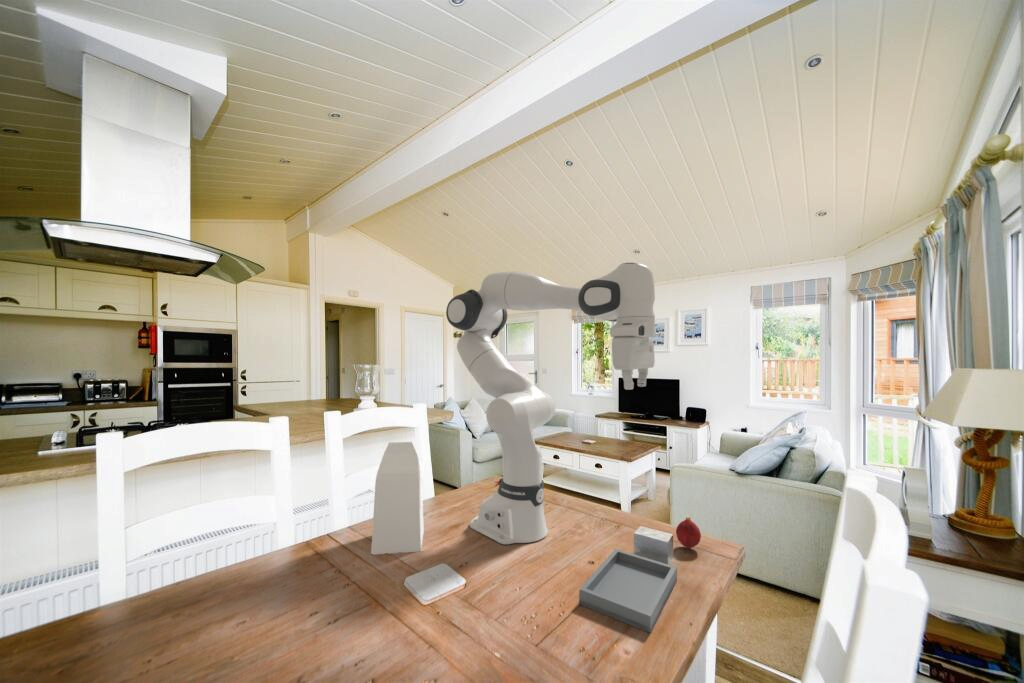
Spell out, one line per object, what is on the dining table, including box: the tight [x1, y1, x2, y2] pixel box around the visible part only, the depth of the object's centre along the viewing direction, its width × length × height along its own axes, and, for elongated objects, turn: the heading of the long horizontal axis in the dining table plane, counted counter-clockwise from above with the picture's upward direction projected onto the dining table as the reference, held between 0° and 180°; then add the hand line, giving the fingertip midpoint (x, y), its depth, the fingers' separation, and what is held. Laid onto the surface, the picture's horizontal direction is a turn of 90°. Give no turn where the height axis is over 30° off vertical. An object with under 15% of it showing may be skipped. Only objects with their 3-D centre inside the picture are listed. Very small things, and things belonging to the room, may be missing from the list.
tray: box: [578, 548, 678, 634], centre depth 84 cm, size 14×20×3 cm
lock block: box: [633, 525, 674, 565], centre depth 98 cm, size 8×5×6 cm, turn 55°
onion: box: [675, 516, 702, 550], centre depth 102 cm, size 6×6×8 cm
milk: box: [370, 441, 425, 555], centre depth 105 cm, size 12×12×26 cm
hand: (635, 387), depth 95 cm, fingers open, 8 cm apart
